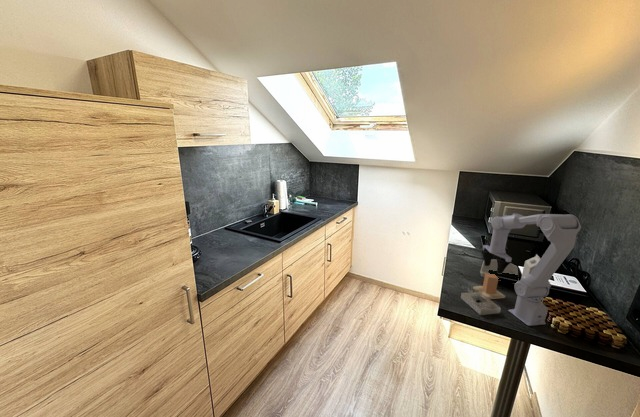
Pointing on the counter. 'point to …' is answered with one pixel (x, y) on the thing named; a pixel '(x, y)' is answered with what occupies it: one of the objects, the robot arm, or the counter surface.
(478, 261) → the counter surface
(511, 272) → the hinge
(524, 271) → the milk carton
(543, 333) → the counter surface
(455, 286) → the counter surface
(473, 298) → the socket block
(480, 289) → the board
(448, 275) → the counter surface
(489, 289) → the peg
